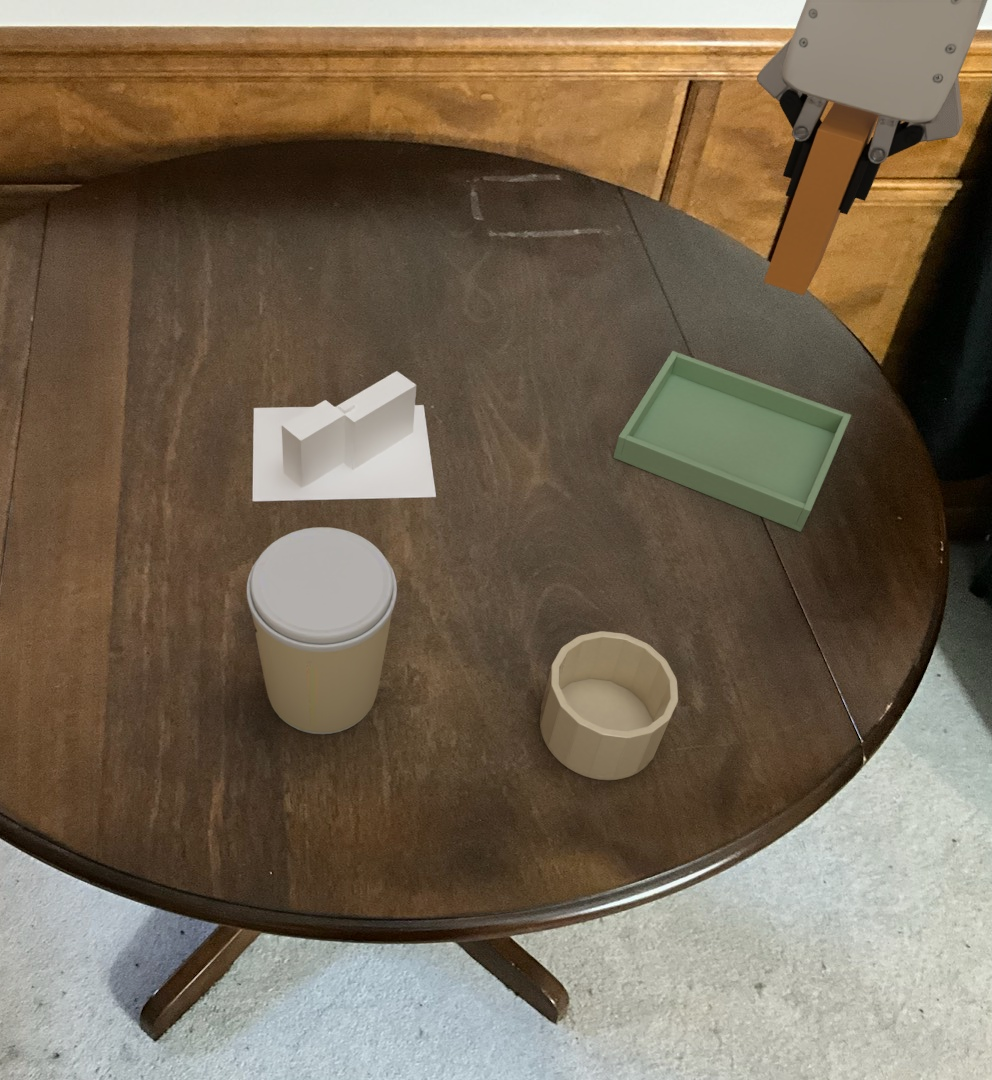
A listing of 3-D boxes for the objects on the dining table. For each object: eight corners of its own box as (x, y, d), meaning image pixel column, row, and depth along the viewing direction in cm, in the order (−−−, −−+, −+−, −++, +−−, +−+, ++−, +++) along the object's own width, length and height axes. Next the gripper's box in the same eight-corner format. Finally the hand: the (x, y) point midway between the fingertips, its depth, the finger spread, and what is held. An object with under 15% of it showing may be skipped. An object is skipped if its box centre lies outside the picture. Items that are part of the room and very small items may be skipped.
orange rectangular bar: (819, 264, 83) (880, 113, 74) (803, 295, 80) (864, 142, 71) (780, 252, 84) (835, 100, 75) (763, 282, 81) (817, 129, 72)
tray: (841, 436, 97) (851, 414, 95) (800, 532, 89) (810, 511, 87) (666, 371, 102) (672, 350, 100) (612, 457, 94) (618, 436, 92)
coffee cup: (311, 613, 82) (309, 501, 73) (415, 677, 79) (426, 568, 70) (227, 698, 77) (214, 589, 68) (335, 770, 73) (336, 666, 64)
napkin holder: (423, 403, 98) (427, 352, 94) (437, 496, 90) (443, 446, 86) (251, 408, 97) (248, 356, 92) (252, 503, 89) (248, 451, 85)
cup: (675, 709, 78) (695, 664, 74) (633, 801, 73) (651, 758, 69) (567, 660, 80) (580, 613, 76) (520, 745, 75) (531, 700, 71)
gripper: (1088, -78, 63) (951, 207, 77) (806, -139, 68) (724, 139, 82) (1071, -33, 59) (929, 260, 73) (770, -102, 64) (691, 185, 78)
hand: (821, 194), depth 77 cm, fingers closed on orange rectangular bar, 3 cm apart
